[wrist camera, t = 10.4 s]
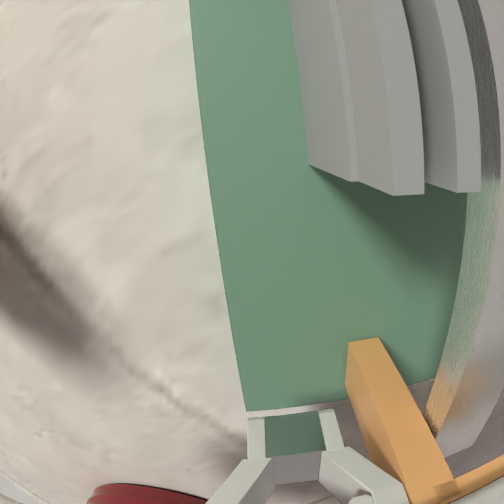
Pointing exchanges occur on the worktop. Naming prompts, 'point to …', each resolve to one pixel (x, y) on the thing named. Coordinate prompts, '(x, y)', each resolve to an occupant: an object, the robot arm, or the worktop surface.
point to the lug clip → (403, 430)
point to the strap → (477, 258)
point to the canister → (138, 495)
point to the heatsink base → (336, 182)
